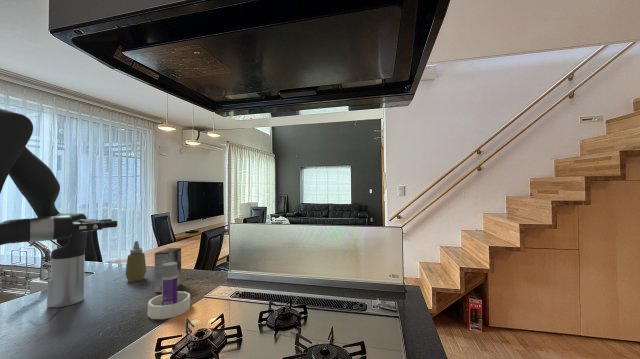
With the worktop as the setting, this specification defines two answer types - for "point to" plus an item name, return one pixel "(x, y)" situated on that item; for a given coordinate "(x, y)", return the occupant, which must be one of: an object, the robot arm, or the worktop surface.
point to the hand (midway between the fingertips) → (114, 222)
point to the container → (169, 283)
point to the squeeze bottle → (136, 264)
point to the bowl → (168, 306)
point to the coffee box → (166, 257)
